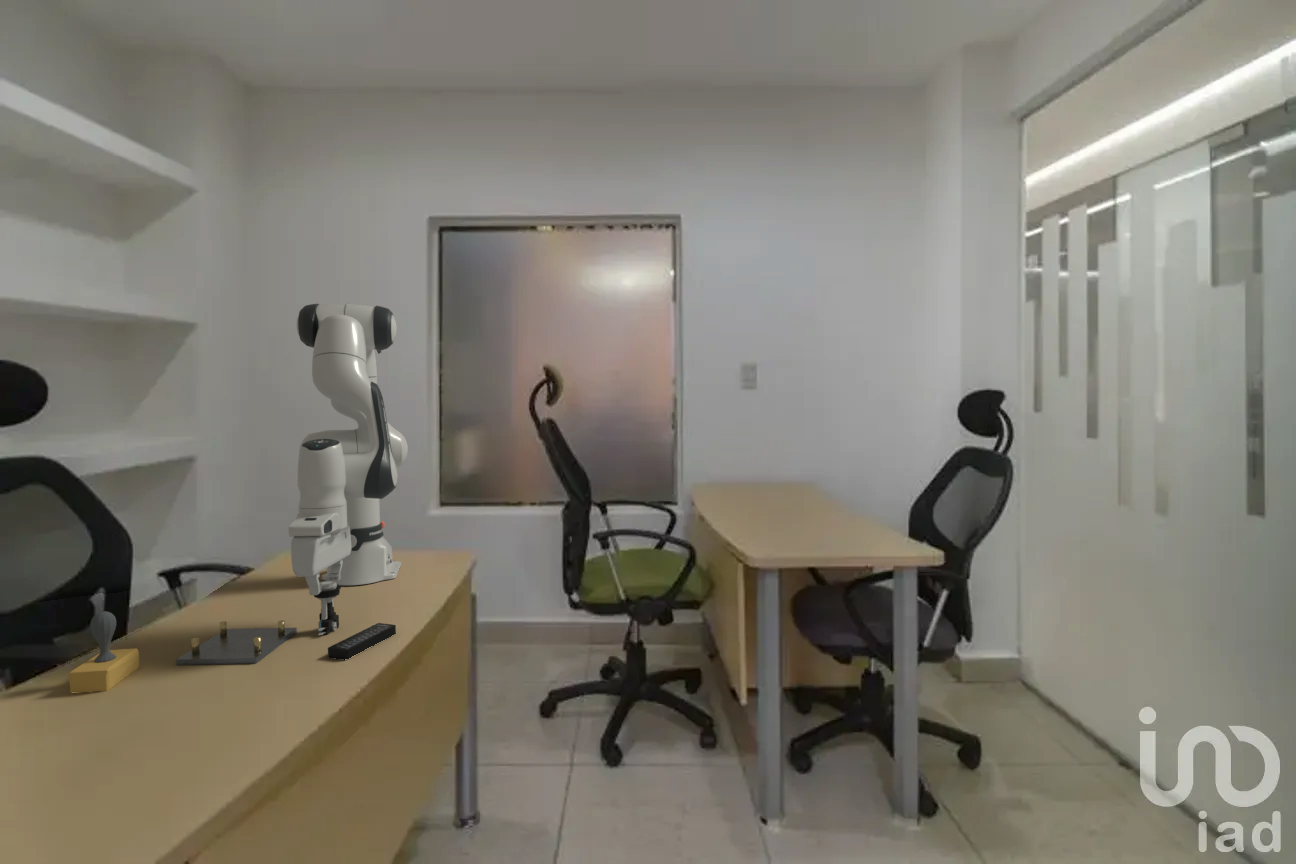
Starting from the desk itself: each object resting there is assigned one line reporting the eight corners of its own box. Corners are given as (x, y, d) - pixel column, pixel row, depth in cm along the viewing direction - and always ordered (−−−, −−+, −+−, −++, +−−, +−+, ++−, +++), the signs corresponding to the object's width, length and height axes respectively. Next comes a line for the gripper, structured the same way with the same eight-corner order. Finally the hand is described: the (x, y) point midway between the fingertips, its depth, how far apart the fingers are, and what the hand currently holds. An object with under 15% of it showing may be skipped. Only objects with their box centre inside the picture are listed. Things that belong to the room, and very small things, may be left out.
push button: (332, 637, 139) (331, 588, 138) (305, 637, 139) (304, 588, 138) (346, 626, 145) (345, 579, 145) (321, 626, 145) (319, 579, 145)
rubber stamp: (108, 691, 115) (105, 620, 114) (68, 694, 113) (64, 622, 113) (140, 667, 124) (137, 601, 123) (103, 670, 123) (100, 603, 122)
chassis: (226, 633, 141) (225, 616, 141) (296, 632, 142) (296, 615, 142) (176, 664, 125) (175, 645, 125) (256, 663, 126) (255, 644, 126)
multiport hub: (326, 660, 128) (326, 647, 128) (378, 633, 142) (378, 622, 142) (346, 662, 127) (346, 650, 127) (396, 635, 141) (396, 624, 141)
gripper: (328, 512, 151) (330, 575, 151) (283, 529, 130) (286, 602, 131) (358, 511, 151) (360, 574, 151) (318, 528, 130) (320, 601, 131)
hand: (325, 587), depth 141 cm, fingers open, 8 cm apart
